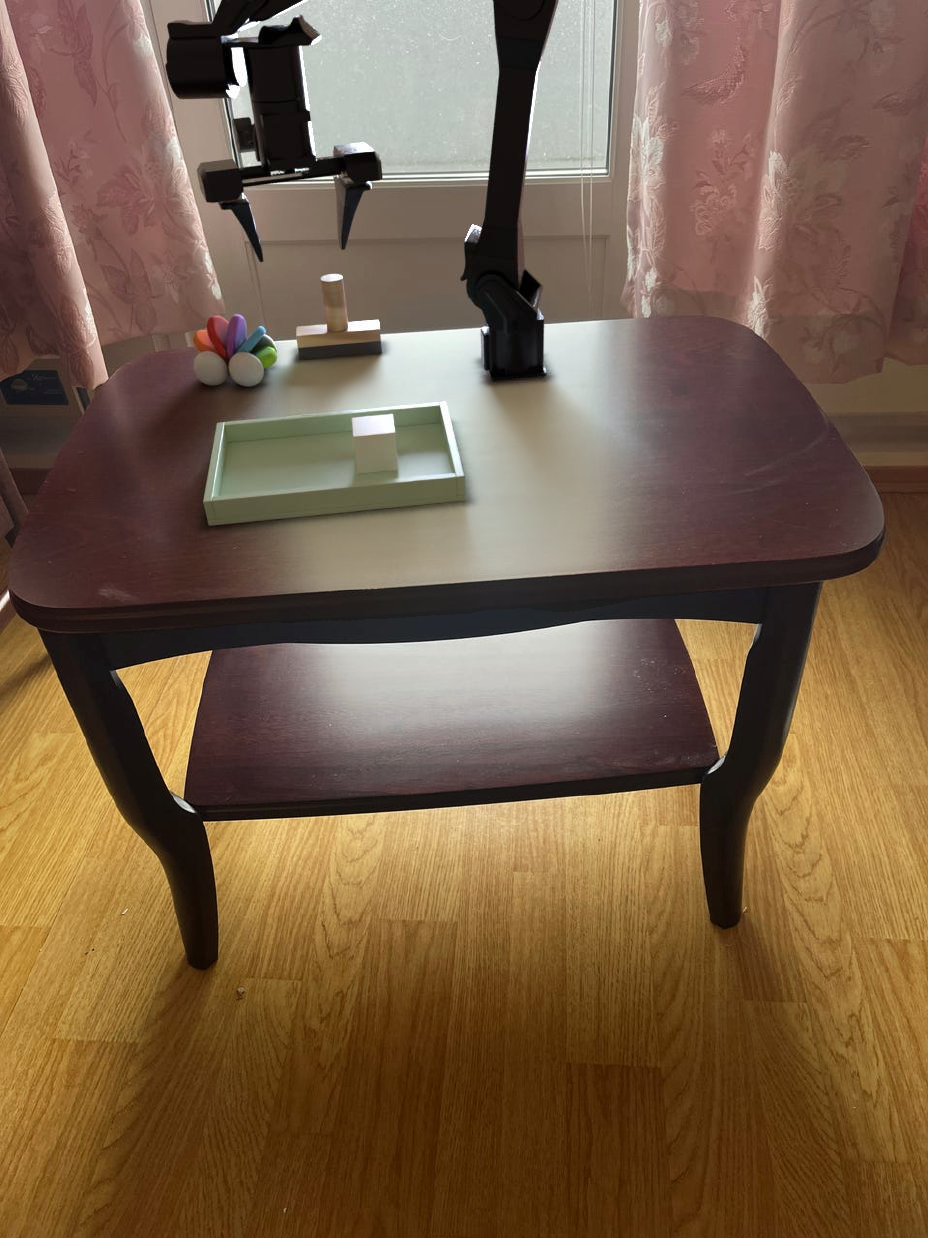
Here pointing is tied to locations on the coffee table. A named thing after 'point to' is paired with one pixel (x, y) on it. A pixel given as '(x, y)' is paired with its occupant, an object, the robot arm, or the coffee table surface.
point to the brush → (337, 328)
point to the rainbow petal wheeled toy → (232, 352)
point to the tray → (328, 465)
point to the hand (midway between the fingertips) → (302, 254)
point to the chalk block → (375, 443)
